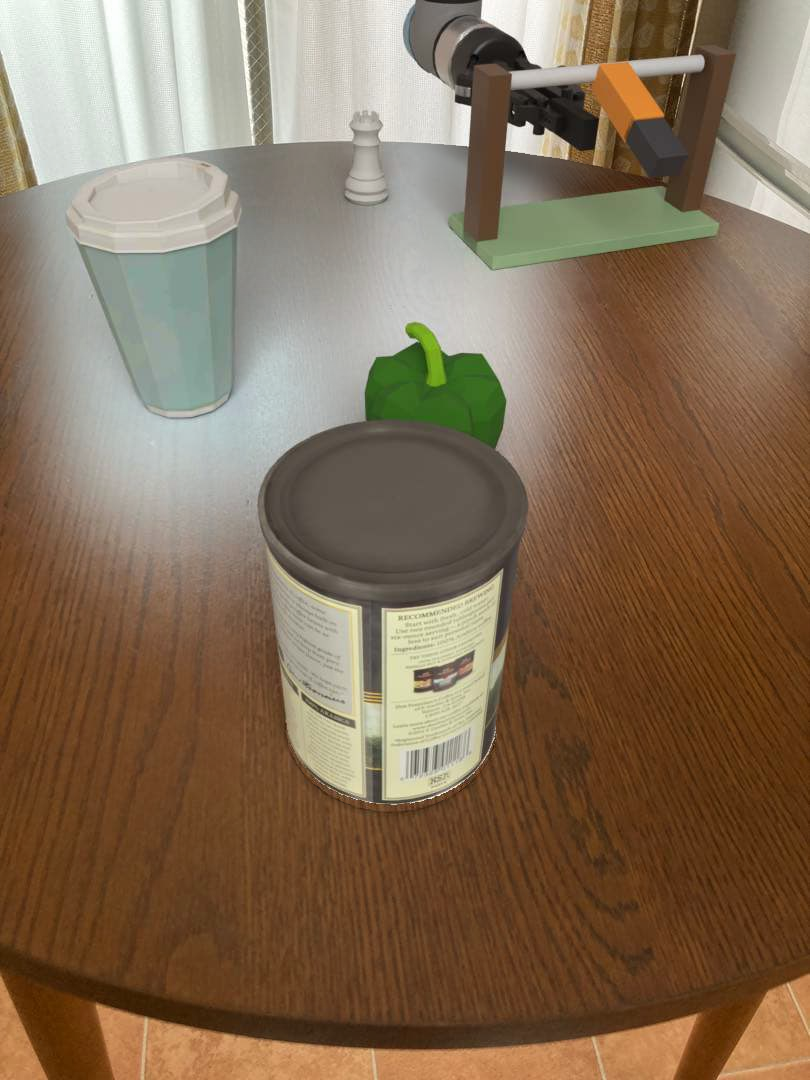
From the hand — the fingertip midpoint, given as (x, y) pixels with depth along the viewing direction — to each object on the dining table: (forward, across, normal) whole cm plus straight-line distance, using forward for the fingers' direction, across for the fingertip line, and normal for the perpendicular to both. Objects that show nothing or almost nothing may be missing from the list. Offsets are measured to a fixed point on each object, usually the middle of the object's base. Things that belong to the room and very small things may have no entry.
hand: (589, 135), depth 83 cm
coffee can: (+49, +37, -9) cm, 62 cm away
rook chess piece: (-13, +17, -9) cm, 23 cm away
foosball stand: (+1, 0, -8) cm, 8 cm away
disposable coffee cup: (+17, +41, -9) cm, 45 cm away
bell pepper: (+32, +28, -9) cm, 44 cm away
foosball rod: (+13, 0, +1) cm, 13 cm away
